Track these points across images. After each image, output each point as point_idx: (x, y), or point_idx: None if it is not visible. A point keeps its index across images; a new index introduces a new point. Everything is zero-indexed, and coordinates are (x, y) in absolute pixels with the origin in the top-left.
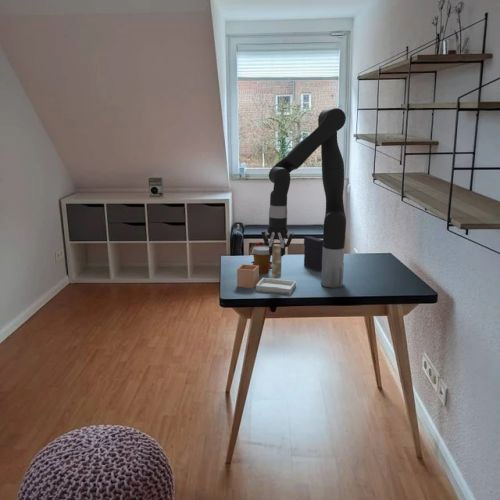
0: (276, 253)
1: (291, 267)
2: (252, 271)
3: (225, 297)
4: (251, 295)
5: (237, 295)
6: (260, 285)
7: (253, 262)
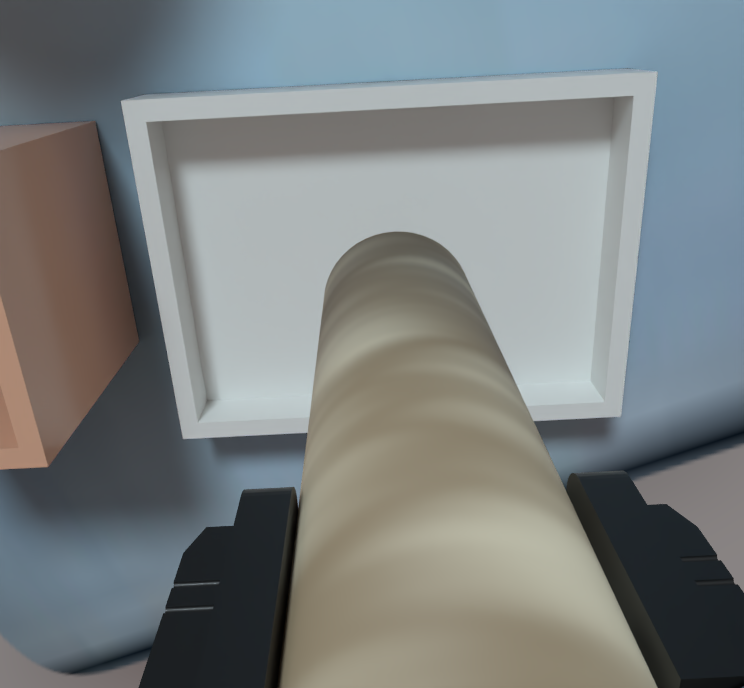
0: None
1: None
2: (30, 457)
3: (23, 647)
4: None
5: (93, 575)
6: (235, 420)
7: None
